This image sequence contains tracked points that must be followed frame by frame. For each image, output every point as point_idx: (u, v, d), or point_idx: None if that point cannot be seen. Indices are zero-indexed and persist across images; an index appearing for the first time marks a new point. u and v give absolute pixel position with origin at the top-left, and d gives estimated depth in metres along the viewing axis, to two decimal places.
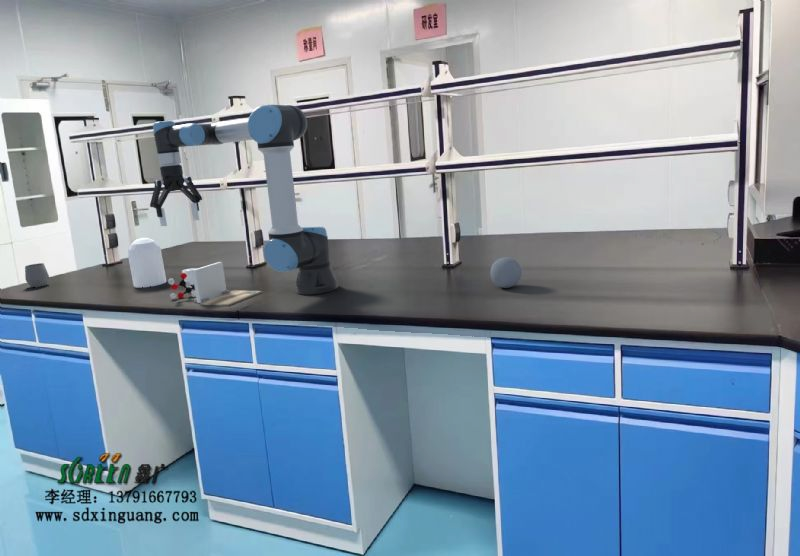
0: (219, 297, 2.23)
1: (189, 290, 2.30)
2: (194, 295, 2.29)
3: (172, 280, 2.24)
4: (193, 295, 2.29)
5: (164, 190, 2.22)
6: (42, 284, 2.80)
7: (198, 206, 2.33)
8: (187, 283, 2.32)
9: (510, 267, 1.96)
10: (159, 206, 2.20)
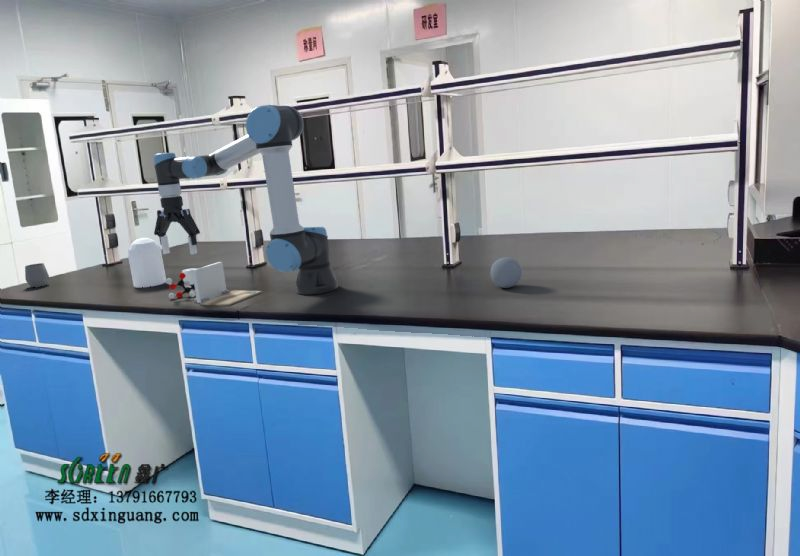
0: (219, 297, 2.23)
1: (188, 290, 2.31)
2: (192, 295, 2.30)
3: (170, 280, 2.25)
4: (191, 295, 2.29)
5: None
6: (42, 284, 2.80)
7: (193, 240, 2.22)
8: (186, 283, 2.33)
9: (510, 267, 1.96)
10: (158, 235, 2.28)
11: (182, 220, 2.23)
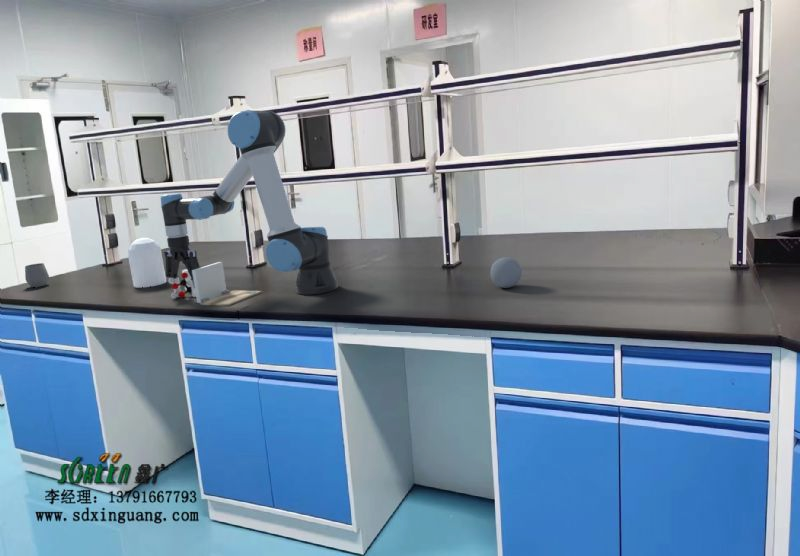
0: (219, 297, 2.23)
1: (190, 290, 2.31)
2: None
3: (172, 279, 2.25)
4: None
5: None
6: (42, 284, 2.80)
7: None
8: (189, 282, 2.33)
9: (510, 267, 1.96)
10: (170, 277, 2.31)
11: (187, 261, 2.26)
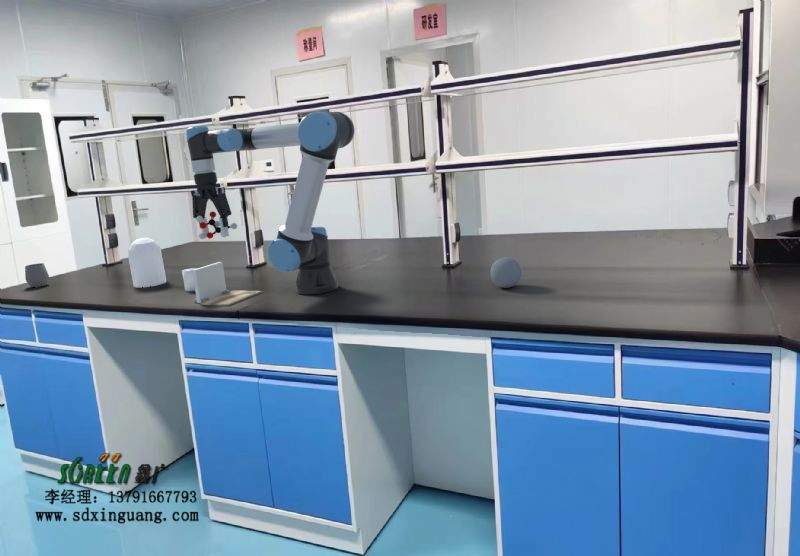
0: (219, 297, 2.23)
1: (219, 230, 2.18)
2: None
3: (200, 217, 2.12)
4: None
5: None
6: (42, 284, 2.80)
7: (225, 222, 2.14)
8: (217, 223, 2.20)
9: (510, 267, 1.96)
10: None
11: (216, 199, 2.14)
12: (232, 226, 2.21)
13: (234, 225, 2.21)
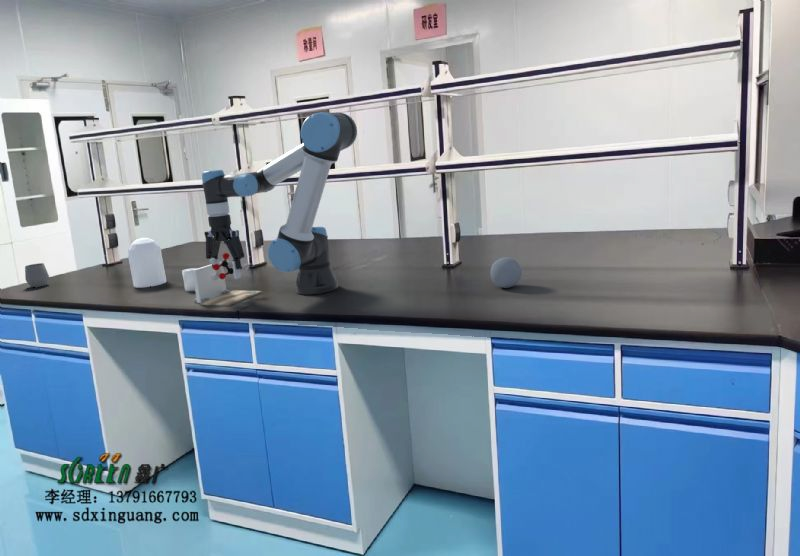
0: (219, 297, 2.23)
1: (231, 271, 2.20)
2: None
3: (214, 260, 2.14)
4: None
5: None
6: (42, 284, 2.80)
7: (238, 264, 2.16)
8: (229, 264, 2.22)
9: (510, 267, 1.96)
10: None
11: (229, 241, 2.16)
12: (244, 267, 2.23)
13: (246, 266, 2.23)
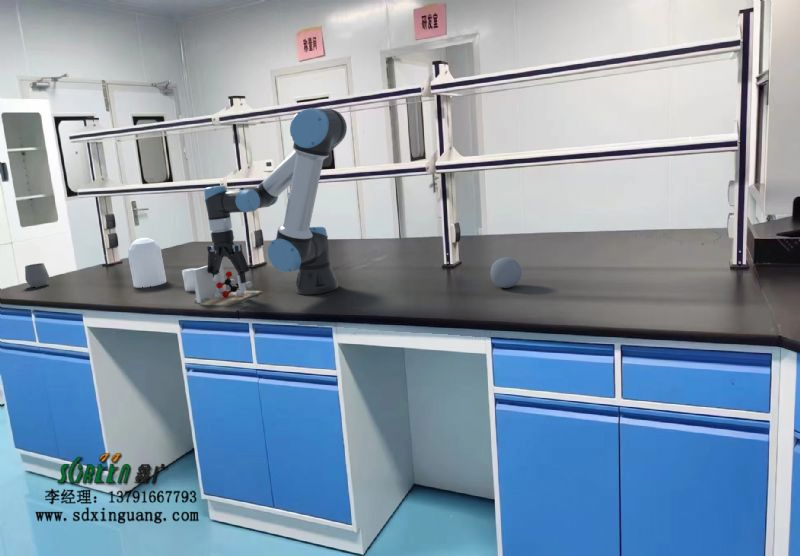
0: None
1: (234, 289, 2.21)
2: (239, 294, 2.20)
3: (217, 278, 2.15)
4: (238, 294, 2.20)
5: None
6: (42, 284, 2.80)
7: (242, 278, 2.17)
8: (232, 282, 2.24)
9: (510, 267, 1.96)
10: (212, 273, 2.21)
11: (233, 256, 2.17)
12: (247, 285, 2.24)
13: (249, 284, 2.24)
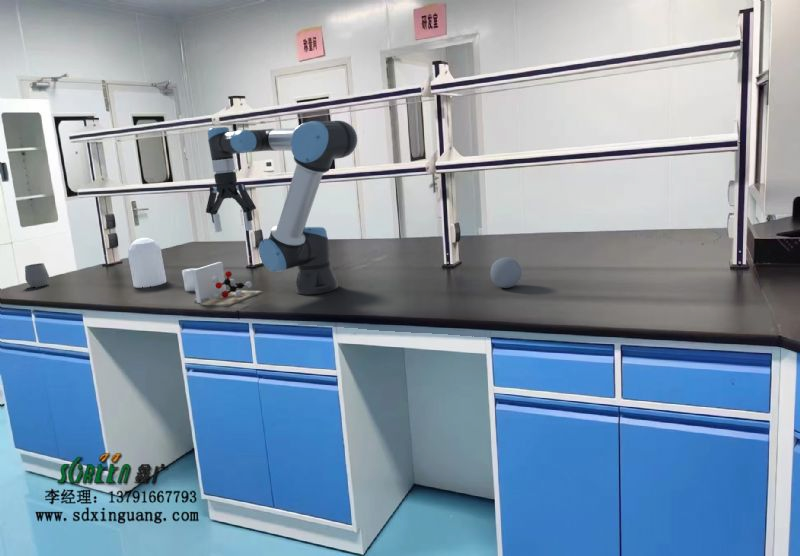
0: None
1: (234, 289, 2.21)
2: (238, 294, 2.20)
3: (216, 278, 2.15)
4: (237, 294, 2.20)
5: None
6: (42, 284, 2.80)
7: (249, 216, 2.19)
8: (232, 281, 2.24)
9: (510, 267, 1.96)
10: (211, 212, 2.24)
11: (237, 196, 2.19)
12: (247, 285, 2.24)
13: (249, 284, 2.24)
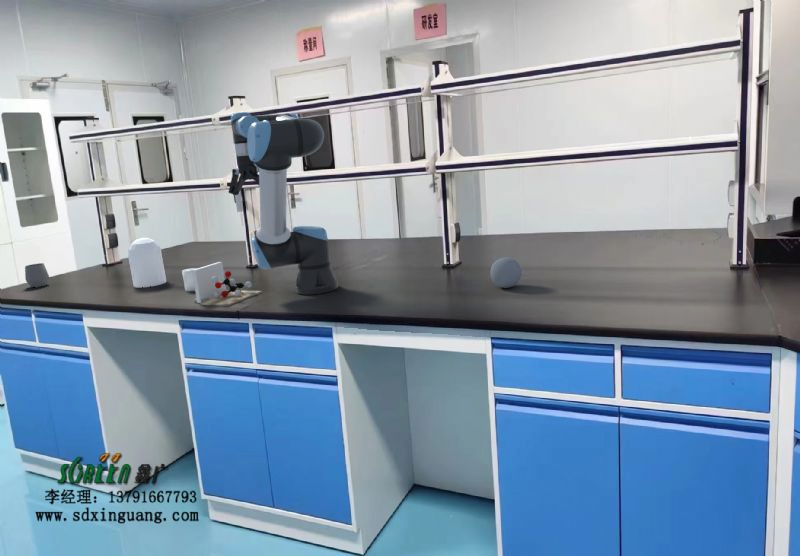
0: (219, 297, 2.23)
1: (233, 289, 2.22)
2: (238, 294, 2.20)
3: (215, 278, 2.16)
4: (237, 294, 2.20)
5: None
6: (42, 284, 2.80)
7: None
8: (232, 281, 2.24)
9: (510, 267, 1.96)
10: (233, 193, 2.38)
11: (257, 177, 2.32)
12: (246, 285, 2.25)
13: (248, 284, 2.25)
